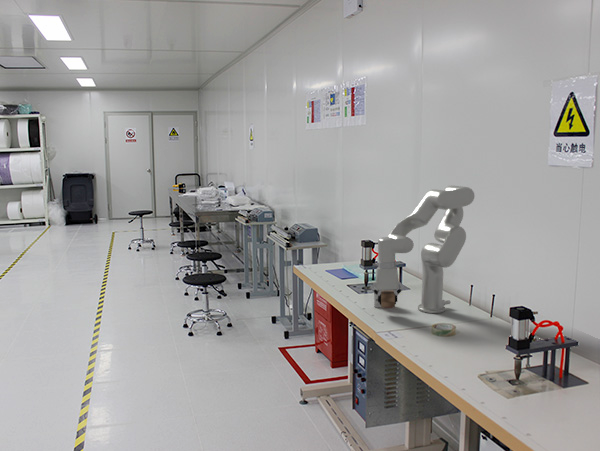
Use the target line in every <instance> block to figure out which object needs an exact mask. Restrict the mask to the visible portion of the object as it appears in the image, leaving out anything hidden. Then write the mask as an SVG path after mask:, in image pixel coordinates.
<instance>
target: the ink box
mask: <svg viewBox="0 0 600 451" xmlns="http://www.w3.org/2000/svg"><path fill="white" fill-rule="evenodd" d="M375 282H376V281H373V284H374V283H375ZM374 288H375V289H376V290H377V291H378V289H377V288H376V286H375V287H374ZM382 291H390V290H382ZM373 301H374V302H373V306H374V308H382V307H381V305H380V303H379V302H378V295H377V294H376V293H374V292H373ZM383 308H390V309H391V308H393V307H383Z"/></svg>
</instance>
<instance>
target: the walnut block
mask: <svg viewBox="0 0 600 451" xmlns="http://www.w3.org/2000/svg"><path fill="white" fill-rule="evenodd" d="M384 307H392V308H395V307H396V304H395V293H394V290H390V291H381V307H380V308H384Z"/></svg>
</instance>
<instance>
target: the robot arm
mask: <svg viewBox="0 0 600 451" xmlns="http://www.w3.org/2000/svg"><path fill="white" fill-rule="evenodd" d="M474 200H475V192H474V191H473V189H472V188H470V187H467V186H463V185H462V186H461V185H447V186H446V187H445V188H444V189H443V190H442V189H430V190H428V191H427V192H426V193H425V194H424V196H423V198H422V199H421V200H420V201H419V203H418V204H417V205H416V206H415V208H414V210H413V211H412V212H411V213H410V214H408V216H406V217H404V218H403V219H402V220H400V221H399V222H398V223H397V224H396V225H395V226H394V227H393V229H392V230H391V231H390V233H389V234H388V236H385V237H380V238H379V239H378V240H377V252H378V253H377V255H378V256H377V258H378V260H377V261H378V262H377V263H378V266H377V267H376V269H375V270H376V271H375V281H374V282H375V283H374V282H373V283H372V284H371V286H370V287H369V289H370V290H371V291H372V292H373V294H374V293H376V294H377V295H378V302H379V303H380V305H381V291H382V290H394V293H395V305H397V303H398V295H400V293H401V292H402V291H403V290H404V289H405V285H404V284H403V283H401V282H400V281H399V270H398V267H397V266H399V265H400V262H399V261H398V262H397V261H396V254H407V253H410V252H411V251H413V248H414V241H413V240H412V239H411V238H410V237H409V236H407V235H408V234H410V233H411V232H412V231H413V230H417V229H419V228H422V227H425V226H427V225H428V224H429V222H430V221H431V220H432V218H433V217H434V216H435V214H436V213H437V211H438V210H444V211H445V212H444V213H443V216H442V218H441V220H440V221H439V224H438V225H437V227H436V229H435V231H434V234H433V235H434V239H435V240H436V241H437V242H439V243H442V244H439V243H435V242H429V243H428V242H427V243H426V244H424V245H423V246H422V248H421V252H420V260H421V264H422V265H421V266H422V272H421V273H422V274H421V275H422V278H421V303H420V304H419V305H417V309H418V310H419V311H420V312H424V313H428V314H442V313H444V312H446V307H445V306H446V305H451V300H449V299H448V300H446V299H443V293H444V291H443V289H444V288H443V287H444V268H445V269H446V268H449V267H452V265H453V264H454V263H455V261H456V260H457V258H458V257H459V255H460V252H461V250H462V249H463V247H464V245H465V243H466V240H467V232H466V230H465V229H464V227H462V226H460V225H461V223H462V221H463V219H464V207H468V206H470V205H471V204H472V203H473V202H474ZM375 286H376V288H377V289H378V291H377V290H376V289H375V288H374V287H375Z"/></svg>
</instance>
